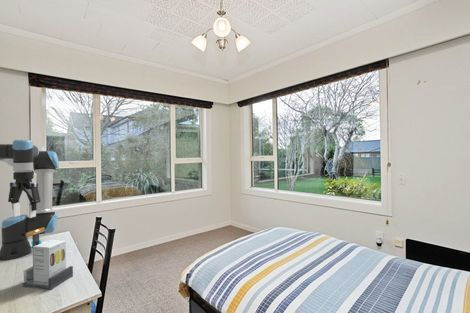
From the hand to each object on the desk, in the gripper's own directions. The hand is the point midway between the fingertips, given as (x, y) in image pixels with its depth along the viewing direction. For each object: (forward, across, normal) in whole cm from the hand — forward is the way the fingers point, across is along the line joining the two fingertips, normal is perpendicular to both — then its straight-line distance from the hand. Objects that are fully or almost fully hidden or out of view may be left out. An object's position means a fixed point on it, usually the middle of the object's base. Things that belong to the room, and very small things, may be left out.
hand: (24, 216), depth 118 cm
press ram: (+29, -6, 0) cm, 30 cm away
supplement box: (+30, -14, 0) cm, 33 cm away
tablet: (+32, +36, -39) cm, 62 cm away
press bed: (+31, -14, 0) cm, 34 cm away
